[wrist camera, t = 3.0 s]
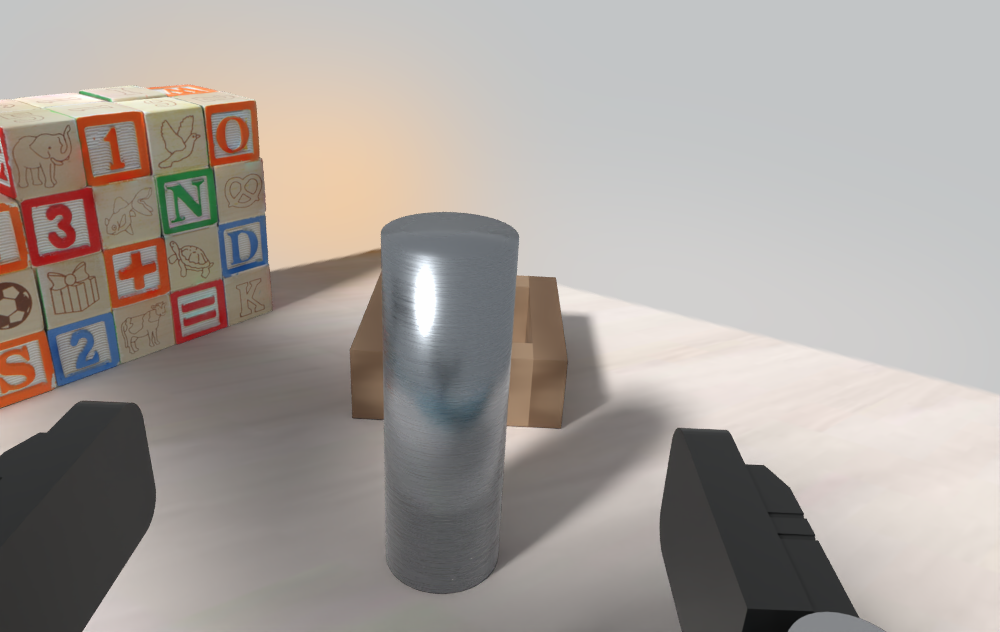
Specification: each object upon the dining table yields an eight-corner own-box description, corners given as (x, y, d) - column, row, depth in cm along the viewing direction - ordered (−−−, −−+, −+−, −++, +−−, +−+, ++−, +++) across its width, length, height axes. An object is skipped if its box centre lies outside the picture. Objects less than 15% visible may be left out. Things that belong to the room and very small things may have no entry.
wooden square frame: (352, 417, 35) (349, 350, 33) (383, 325, 43) (382, 268, 42) (560, 428, 35) (567, 361, 33) (550, 334, 44) (555, 277, 42)
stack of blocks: (-189, 482, 29) (-320, 163, 24) (-233, 420, 33) (-356, 129, 27) (276, 311, 45) (258, 95, 39) (213, 281, 48) (189, 78, 43)
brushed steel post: (377, 590, 26) (370, 254, 20) (394, 511, 29) (391, 209, 24) (497, 596, 26) (519, 262, 21) (498, 516, 29) (518, 215, 24)
